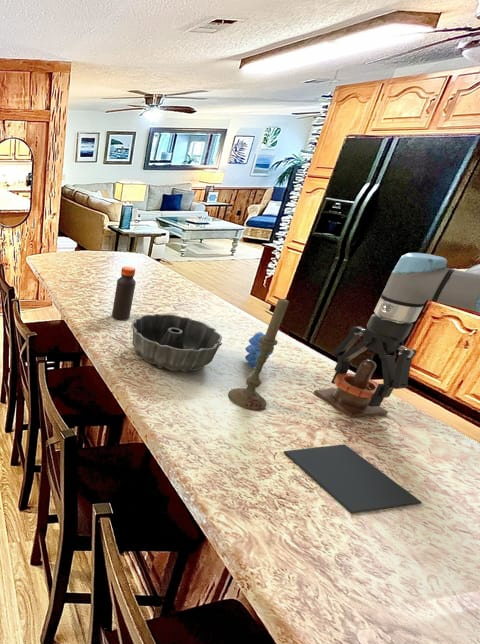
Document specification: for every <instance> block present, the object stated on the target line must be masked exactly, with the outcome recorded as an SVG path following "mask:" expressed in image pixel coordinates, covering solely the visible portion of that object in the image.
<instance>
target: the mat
mask: <svg viewBox="0 0 480 644" xmlns="http://www.w3.org/2000/svg"><path fill="white" fill-rule="evenodd" d="M283 454H284V455H286V456H287V457H288V458H289V459H290V460H291V461H292V462H294V463H295V464H296V465H297V467H299V468H300V469H301V470H302V471H303V472H304V473H306V474H307V476H308V477H310V478H311V479H312V480H313V481H314V482H316V483H317V484H318V485H319V486H320V487H321V488H322V489H323V490H324V491H326V492H327V493H328V494H329V495H330V496H331V497H332V498H334V500H336V501H337V502H338V503H339V504H340V505H341V506H342V507H344V508H345V510H347V511H348V512H349V513H350V514H357V513H363V512H365V513H366V512H370V511H378V510H385V509H391V508H399V507H405V506H413V505H420V504H422V500H420V499H419V498H418V497H416V496H415V495H413V494H412V493H411V492H410V491H408V490H406V488H404V487H403V486H402V485H400V484H399V483H398V482H396V481H394V479H392V478H391V477H389V476H388V474H387V475H386V473H384V472H383V471H381V470H380V469H379V468H377V467H376V466H374V465H373V464H372V463H370V462H369V461H368V460H367V459H365V458H364V457H362V456H361V455H359V454H358V453H357V452H356V451H354V449H352V448H351V447H349V446H348V445H346V444H334V445H327V446H325V445H324V446H319V447H307V448H300V449H291V450H290V449H289V450H284V451H283Z"/></svg>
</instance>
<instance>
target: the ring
mask: <svg viewBox="0 0 480 644" xmlns="http://www.w3.org/2000/svg"><path fill="white" fill-rule="evenodd" d="M355 374H356V373H350V372H347V373H339V374H338V375H337V376H336V378H335V380H334V383H335V384H334V385H335V386H336V387H339V388H341V389H342V390H344V391H346V392H348V393H350V394H353V395H356V396H359V397H363V398H369V399H371V398H372V396H373V394H374V393H375V391H376V389H377V387H378V385H379V384H380V383H378V382H376V381H375V380H373V379H371V378H370V380H369V382H368V384H367V387H368V388H370V389H371V390H365V389H360V388H357V387H355V386H352V385H350V384H349V383H347V382H346V381H352V380H353V378H354V376H355Z"/></svg>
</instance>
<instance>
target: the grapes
mask: <svg viewBox="0 0 480 644" xmlns="http://www.w3.org/2000/svg"><path fill="white" fill-rule="evenodd" d="M265 335H266V333H263V332H260V331H259V332H256V333H255V334H254V335H252V337H250V338H249V339H248V342H249V345H247V346H246V347H245V351H246V352H247V353H248V354H247V355H245V356H244V359H245V360H246V361H247V365H248V366H249V367H250V368H252V369H254V368H255V366H256V363H257V358H258V357H259V354H260V353H261V350H260V349H259V347H258V346H259V344H261V341H260V338H261V337H265ZM273 353H274V350H273V351H272V352H270V353H267V360H268V359H269V358H270V356H271V355H272V354H273ZM265 363H266V362H265ZM265 363H264V365H265Z"/></svg>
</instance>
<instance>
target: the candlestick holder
mask: <svg viewBox="0 0 480 644" xmlns="http://www.w3.org/2000/svg"><path fill="white" fill-rule="evenodd" d="M289 303H290V301H289V300H288V299H286V297H284V298H278V299H277V302H276V305H275V308H274V310H273V313H272V316H271V319H270V321H269V324H268V327H267V329H266V332H265V334H266V335H265V337H261V338H260V341H261V344H259V346H258V347H259V349H260V350H261V353H260V354H259V357H258V358H257V363H256V366H255V368H253V373H252V374H251V375H249V376H247V377H246V378H245V384H246V387H240V388H238V387H237V388H231V389H230V390H229V391H228V393H227V396H228V399H229V400H230V401H232V402H233V403H234V404H235V405H237V406H239V407H241V408H244V409H246V410H252V411H262V410H264V409H265V408H266V407H267V405H268V403H267V400H266V399H265V398H264V397H263V396H262V395H261V394H260V393H258V392H257V391H256V389H257V388H259V387H260V386H261V385H262V382H263V381H262V380H261V378H260V374H261V372H262V371H263V370H262V369H263V368H264V365H265V364H264V363H266V362H267V360H268V359H267V353H270V352H272V351H273V352H274V351H275V347H274V346H277V345H278V343H279V341H278V340H277V339H276V337H277V334H278V332H279V329H280V326H281V325H282V321H283V319H284V316H285V314H286V311H287V309H288V305H289Z"/></svg>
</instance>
